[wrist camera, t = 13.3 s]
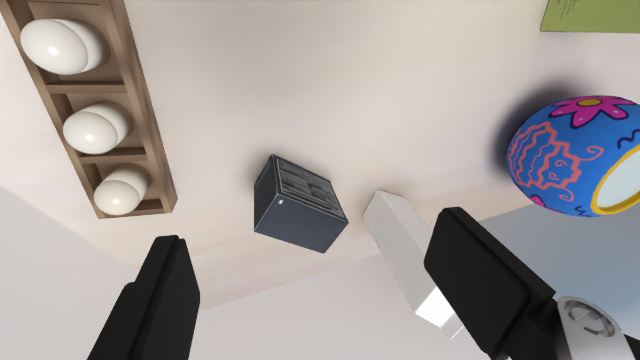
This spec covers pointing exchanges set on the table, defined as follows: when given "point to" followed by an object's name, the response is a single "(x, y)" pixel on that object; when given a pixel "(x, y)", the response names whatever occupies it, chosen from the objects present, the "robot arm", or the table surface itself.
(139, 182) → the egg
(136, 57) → the crate
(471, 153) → the table surface
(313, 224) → the small box
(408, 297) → the milk
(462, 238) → the robot arm
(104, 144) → the egg middle
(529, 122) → the ceramic pot
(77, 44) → the white rounded cylinder
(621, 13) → the protein box
